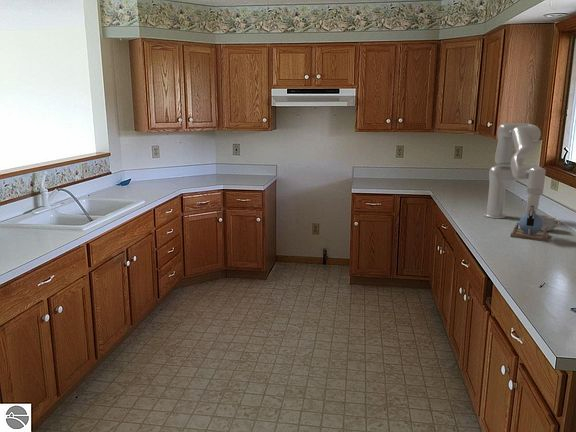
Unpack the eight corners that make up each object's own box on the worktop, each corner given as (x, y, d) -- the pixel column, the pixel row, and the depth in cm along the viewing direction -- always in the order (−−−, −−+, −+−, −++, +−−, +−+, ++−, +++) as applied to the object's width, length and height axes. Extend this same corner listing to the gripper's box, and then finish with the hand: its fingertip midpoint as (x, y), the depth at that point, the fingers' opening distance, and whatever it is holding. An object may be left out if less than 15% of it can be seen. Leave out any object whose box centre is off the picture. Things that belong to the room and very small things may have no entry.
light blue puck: (518, 232, 260) (520, 211, 257) (541, 235, 254) (544, 213, 252) (517, 233, 258) (520, 212, 255) (540, 236, 252) (543, 214, 250)
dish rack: (514, 230, 269) (515, 221, 268) (548, 235, 261) (549, 226, 260) (510, 236, 257) (511, 227, 256) (546, 241, 248) (547, 232, 247)
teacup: (528, 228, 275) (530, 214, 273) (542, 226, 278) (544, 213, 276) (549, 234, 262) (551, 220, 260) (563, 232, 266) (565, 218, 264)
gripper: (528, 188, 260) (524, 219, 264) (524, 193, 246) (521, 226, 249) (544, 189, 256) (540, 221, 260) (541, 194, 242) (537, 228, 246)
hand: (530, 223), depth 255 cm, fingers open, 9 cm apart
